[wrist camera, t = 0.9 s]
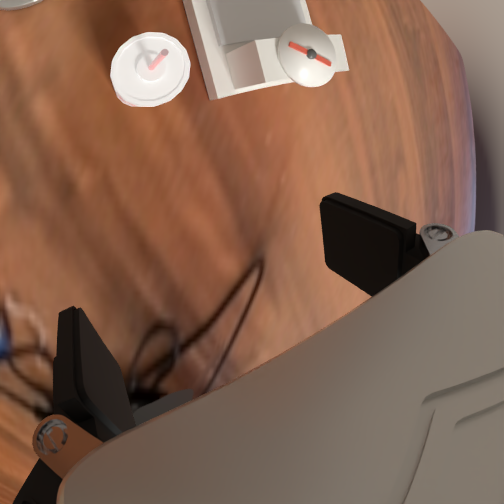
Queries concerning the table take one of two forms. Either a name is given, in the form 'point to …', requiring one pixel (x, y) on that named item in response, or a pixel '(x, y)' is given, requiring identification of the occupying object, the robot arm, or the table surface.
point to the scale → (260, 45)
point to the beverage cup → (149, 69)
